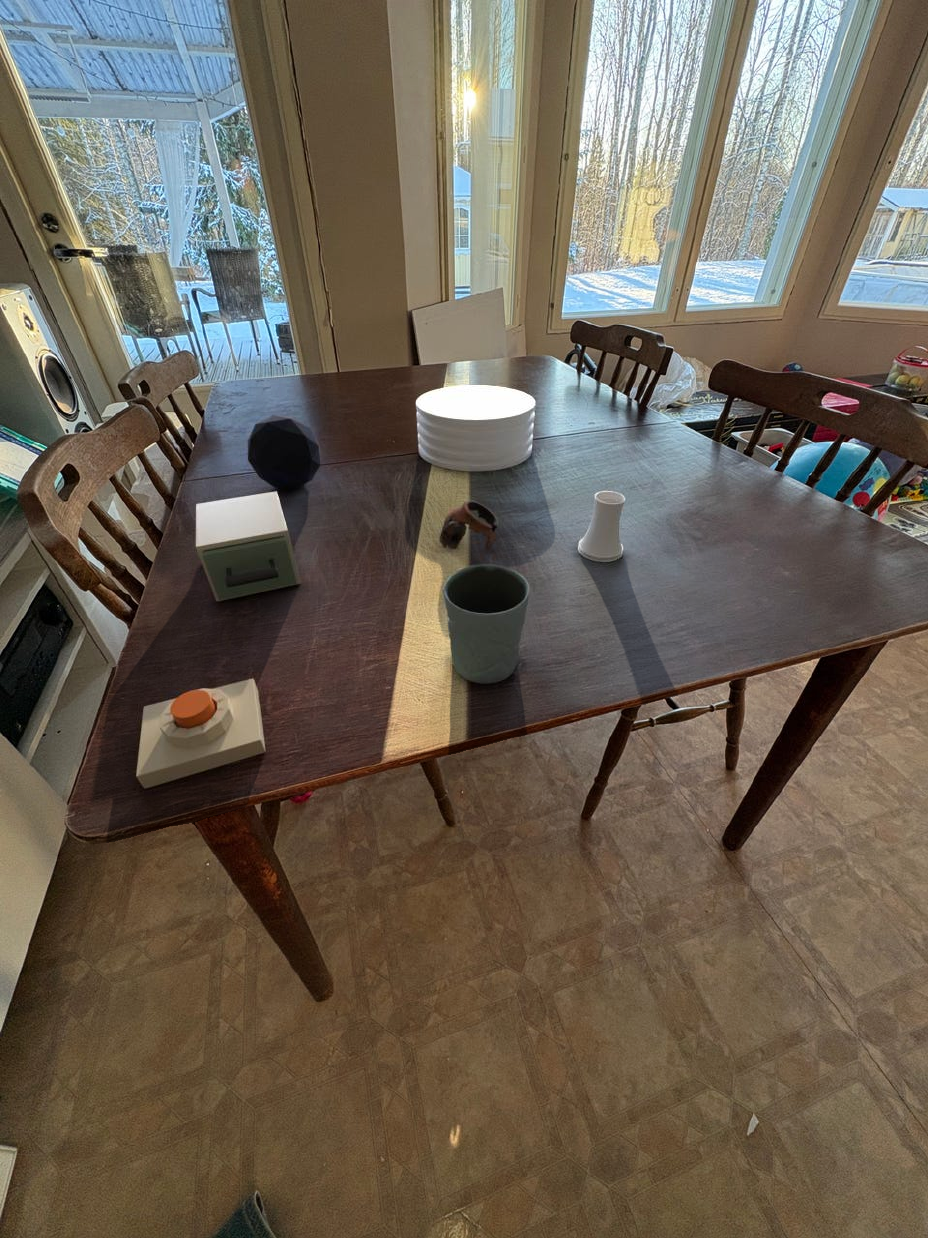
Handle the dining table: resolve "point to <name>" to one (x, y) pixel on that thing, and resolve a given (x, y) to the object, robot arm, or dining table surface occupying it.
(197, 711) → the button
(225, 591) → the green drawer
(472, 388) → the plate stack
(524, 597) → the green cup
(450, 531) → the brown curved piece
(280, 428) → the decorative orb
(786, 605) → the dining table surface
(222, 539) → the white drawer cabinet
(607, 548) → the vase
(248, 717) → the control block
